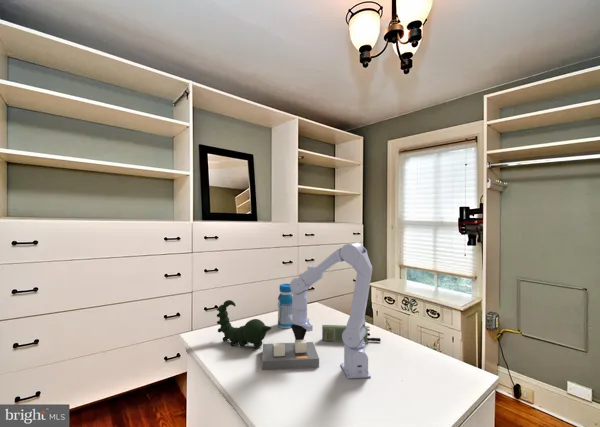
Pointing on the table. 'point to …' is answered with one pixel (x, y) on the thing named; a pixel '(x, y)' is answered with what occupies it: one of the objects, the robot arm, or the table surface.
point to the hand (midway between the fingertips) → (299, 344)
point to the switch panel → (289, 357)
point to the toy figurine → (241, 329)
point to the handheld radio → (340, 333)
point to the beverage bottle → (285, 306)
